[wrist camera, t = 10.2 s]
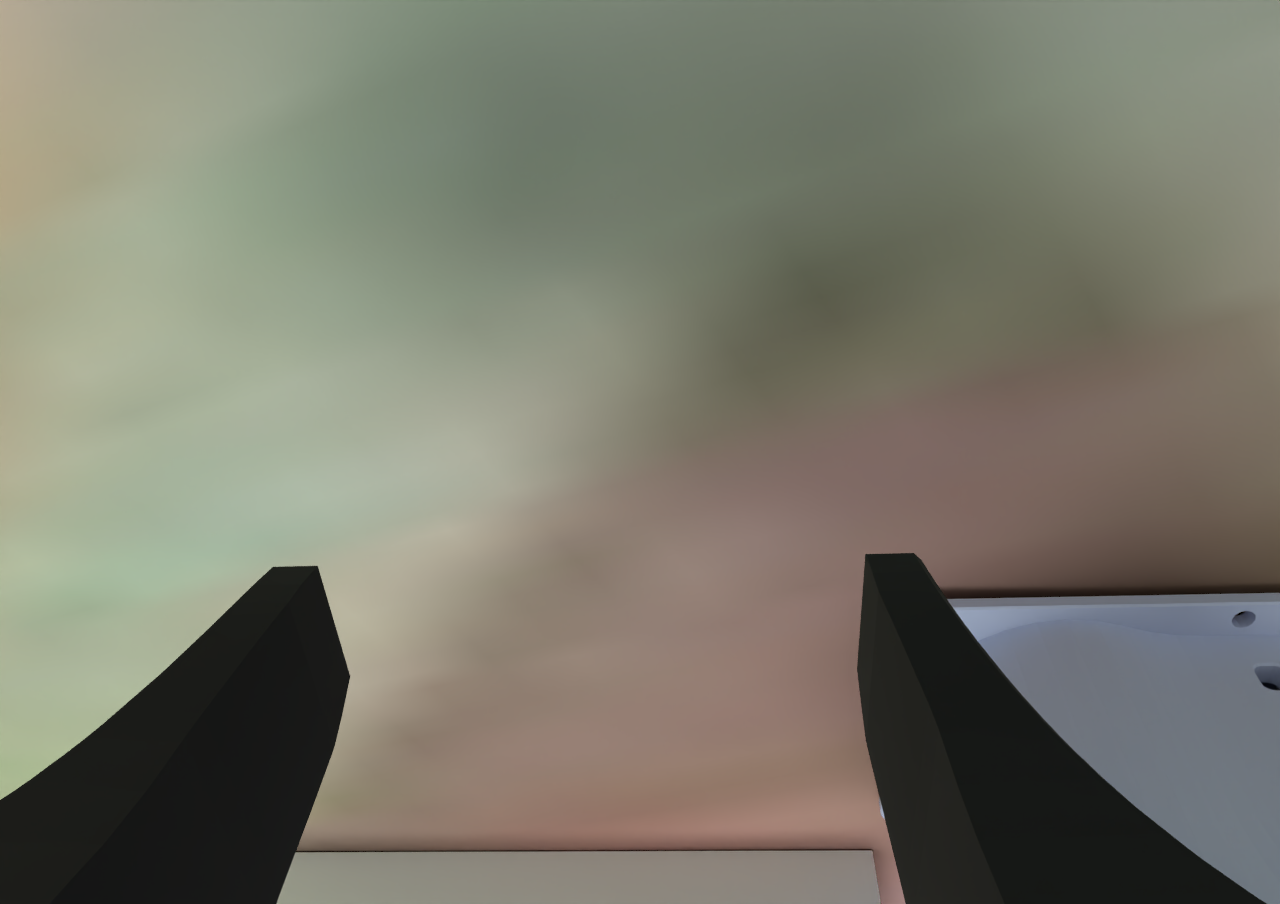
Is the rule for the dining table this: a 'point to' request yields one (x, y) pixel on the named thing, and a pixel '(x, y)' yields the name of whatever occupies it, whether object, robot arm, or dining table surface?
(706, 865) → the tray
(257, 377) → the dining table surface
